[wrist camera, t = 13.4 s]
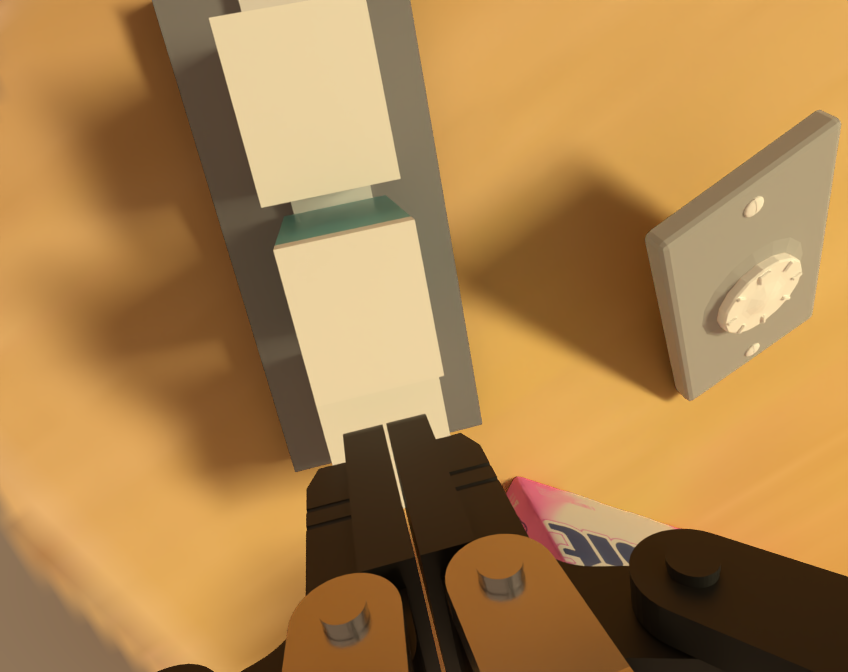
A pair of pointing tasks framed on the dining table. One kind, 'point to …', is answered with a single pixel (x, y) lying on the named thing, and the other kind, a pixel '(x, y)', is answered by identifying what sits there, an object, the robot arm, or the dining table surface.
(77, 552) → the dining table surface
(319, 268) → the block
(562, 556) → the gum box
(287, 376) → the rail board
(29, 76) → the dining table surface
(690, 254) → the light switch
